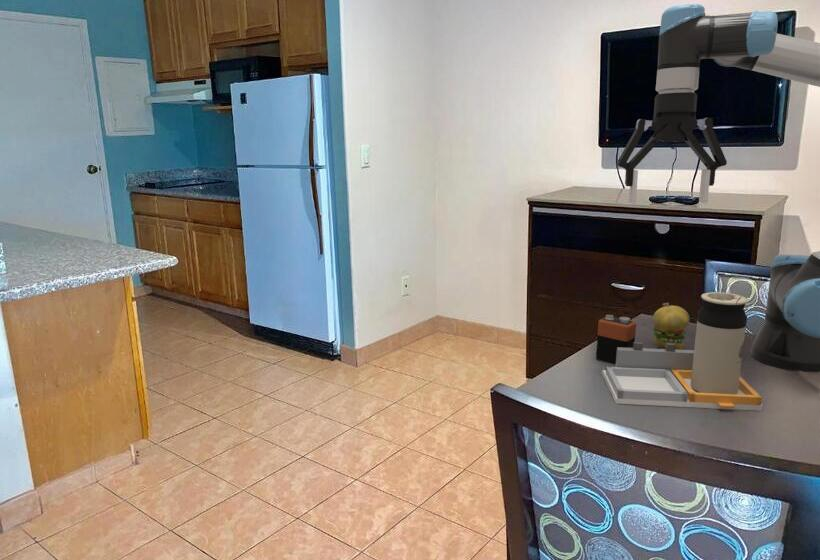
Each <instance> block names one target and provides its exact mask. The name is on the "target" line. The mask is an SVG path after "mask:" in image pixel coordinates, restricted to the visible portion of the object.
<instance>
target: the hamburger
mask: <svg viewBox="0 0 820 560" xmlns="http://www.w3.org/2000/svg"><path fill="white" fill-rule="evenodd" d="M662 305H663V306H662V307H660V308H658V309H657V310H656V311H655V312H654V313H653V315H652V316H653V317H652V324H653V326H654V328H653V331H654V332H653V340H652V341H653V342H652V343H653V344H654V345H655V346H656V347H657V348H658V349H665V346H666V343H674V344H675V345H676V347H675V349H676V350H685V348H686V345H685V344H683V341H684V340H685V339H686V337H685V334H687V332H686V330H685V329H686V328H687V327H688V326H689V324H690V315H689V313H688V312H687V311H686V310H685V309H684V308H682V307H681V306H678V305H672V304H671V305H670V303H669V302H665V303H662Z"/></svg>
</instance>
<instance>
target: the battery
mask: <svg viewBox="0 0 820 560" xmlns="http://www.w3.org/2000/svg"><path fill="white" fill-rule="evenodd" d="M597 327H598V328H597V337H596V341H597V342H596V352H595V356H596V357H595V359H596V360H597V361H603V362H605V363H610V364H613V365H616V354H617V347H622V348H633V342H636V341H635V340H636V330H637V329H636V327H637V323H636V321H632V320H631V318H630V317H628V316H621V317H619V318H618V317H614V315H613V314H606V315H605V317H603V318H600V319H598V325H597Z"/></svg>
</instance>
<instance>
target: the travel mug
mask: <svg viewBox="0 0 820 560" xmlns="http://www.w3.org/2000/svg"><path fill="white" fill-rule="evenodd" d="M700 297H701V299H702V306H701V307H700V308H699V310H698V311H697V319H696V328H695V329H696V330H695V340H694V346H693V348H694V349H693V350H694V357H693V366H692V376H691V387H692V388H693V389H695V390H696V391H698V392H700V393H717V394H737V393H738V387H739V379H740V377H741V369H742V362H743V355H744V346H745V345H744V344H745V337H746V329H747V321H748V316H747V314H746V311H745V307H746V304H747V303H748V301H749V300H748V298H746V297H745V296H743V295H740V294H736V293H732V292H731V293H730V292H720V291H718V292H717V291H713V292H712V291H711V292H710V291H709V292H706V293H702V294H701V296H700Z"/></svg>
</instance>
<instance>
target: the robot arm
mask: <svg viewBox="0 0 820 560" xmlns="http://www.w3.org/2000/svg"><path fill="white" fill-rule="evenodd" d="M705 9H706V8H705V7H704V6H703V5H701V4H699V3H697V4H696V3H695V4H691V3H689V4H687V3H686V4H678V5H674V6H671V7H668V8H667V9H665V10H664V12H663V13H662V15H661V17H660V18H661V20H660V28H659V33H658V34H659V36H658V48H657V49H658V51H657V52H658V53H657V67H656V69H657V71H656V81H655V82H656V84H655V91H656V92H657V93H658V94H656V96H654V108H653V117H652V119H651V120H649V119H648V120H647V119H645V118H639V119H637V120H636V122H635V127H634V131H633V133H632V135H631V137H630V138H629V140H628V141H627V144H626V145H625V147H624V149H623V151H622V153H621V155H620V156H619V158H618V159H617V161H616V166H617V167H620V168H622V169H624V170H625V176H624V177H625V179H624V180H625V181H624V185H625V186H626V187H629V198H628V203H630V204H637V193H638V191H637V189H638V176H639V170H637V169H635V168H636V167H637V166H638V165H639V164H640V163H641V162H642V161H643V160H644V159H645V157H646V156H647V155H648V154H649V153H650V152H651V151H652V150H653V149H654V148H655V147H656V145H658V144H659V143H660V142H662V143H671V142H674V143H678V142H679V143H680V142H681V143H682V142H685V143H686V144H687V145H688V146H689V147H690V149H691V150H692V151H693V153H694V154H695V155H696V157H698V159H699V160H700V162H701V163H702V164H703V165H704V166H705V168H706V169H705V168H704V169H703V168H702V169H701V174H700V175H701V176H700V186H699V195H698V203H701V204H708V200H709V189H710V186H711V187H713V186H714V184H715V179H716V170H717V169H718V168H721V167H725V166H726V165H727V164H728V160H727V159H726V156H725V154H724V151H723V149H722V147H721V144H720V142H719V140H718V138H717V135H716V133H715V131H714V119H713V118H712V117H704V118H702V119H701V118H700V119H697V117H696V115H697V114H696V112H697V104H698V103H697V102H698V101H697V100H698V94H697V93H696V92H695V91H697V90H698V89H699V82H700V81H699V79H700V67H701V60H703V59H706V60H708V59H709V60H710V59H713V61H714V62H715V63H716V64H717V65H719V66H721V67H722V66H723V67H725V68H729V67H730V68H732V67H735V68H738V69H739V68H740V69H743V70H749V71H752V72H753V71H754V72H757V73H762V74H766V75H768V76H769V75H770V76H774V77H778V78H781V79H785V80H789V81H793V82H798V83H802V84H806V85H810V86H814V87H817V88H820V42H817V41H814V40H808V39H803V38H799V37H794V36H790V35H785V34H781V33H778V24H779V23H778V20H779V19H778V14H777V13H776V12H775V11H771V10H770V11H759V10H754V11H750V12H742V13H731V14H721V15H706V12H705V11H706V10H705ZM697 126H698V129H699V130H701V131H702V134H703V136H704V138H705V141H706V143H707V146H708V148H709V151H710V153H711V155H712V157H711V156H710V154H709V153H708V152H707V150H706V149H705V148H704V147H703V146H702V144H701V143H700V142H699V141H698V139H697V137H696V135H694V133H693V131H694V130H695V128H697ZM649 128H651V130H652V131H653V133H654V134H653V135H652V136H650V138H649V139H648V141H647V142H645V144H644V145H643V146H642V147H641V148H640V149H639V150H638V152H636V154H635V155H634V156H633V157H632V158H631V159H630V157H631V155H632V154H633V152H634V151H635V148H636V147H637V145H638V143H639V141H640V139H641V138H642V136H643V134H644V132H646V131H647V130H648V129H649ZM629 159H630V160H629ZM628 160H629V161H628ZM769 276H770V277H769V285H768V290H767V291H768V292H767V300H766V305H765V306H766V307H765V315H764V321H763V323H762V325H761V326H760V329H759V331H758V333H757V334H756V336H755V338H754V339H753V342H752V344H751V350H750V351H751V352H750V354H751V357H753V359H756V360H757V361H759V362H761V363H764V364H765V365H769V366H772V367H775V368H780V369H783V370H789V371H790V370H791V371H795V372H796V371H797V372H806V373H807V372H808V373H819V372H820V250H819V251H813V252H812V253H811V254H809V255H805V254H804V255H802V254H801V255H800V254H778V255H776V256H774V257H773V259H772V263H771V266H770V275H769Z"/></svg>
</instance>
